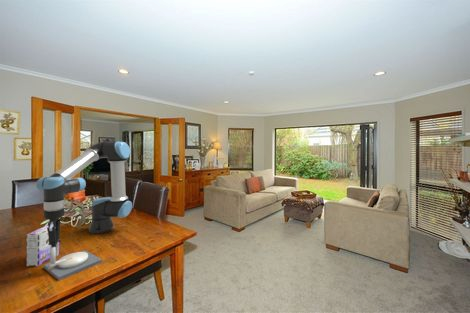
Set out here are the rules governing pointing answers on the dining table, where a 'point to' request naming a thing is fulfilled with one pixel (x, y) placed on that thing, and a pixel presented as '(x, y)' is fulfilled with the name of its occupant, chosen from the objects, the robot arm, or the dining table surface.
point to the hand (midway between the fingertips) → (54, 256)
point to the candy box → (38, 247)
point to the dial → (68, 259)
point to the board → (65, 272)
